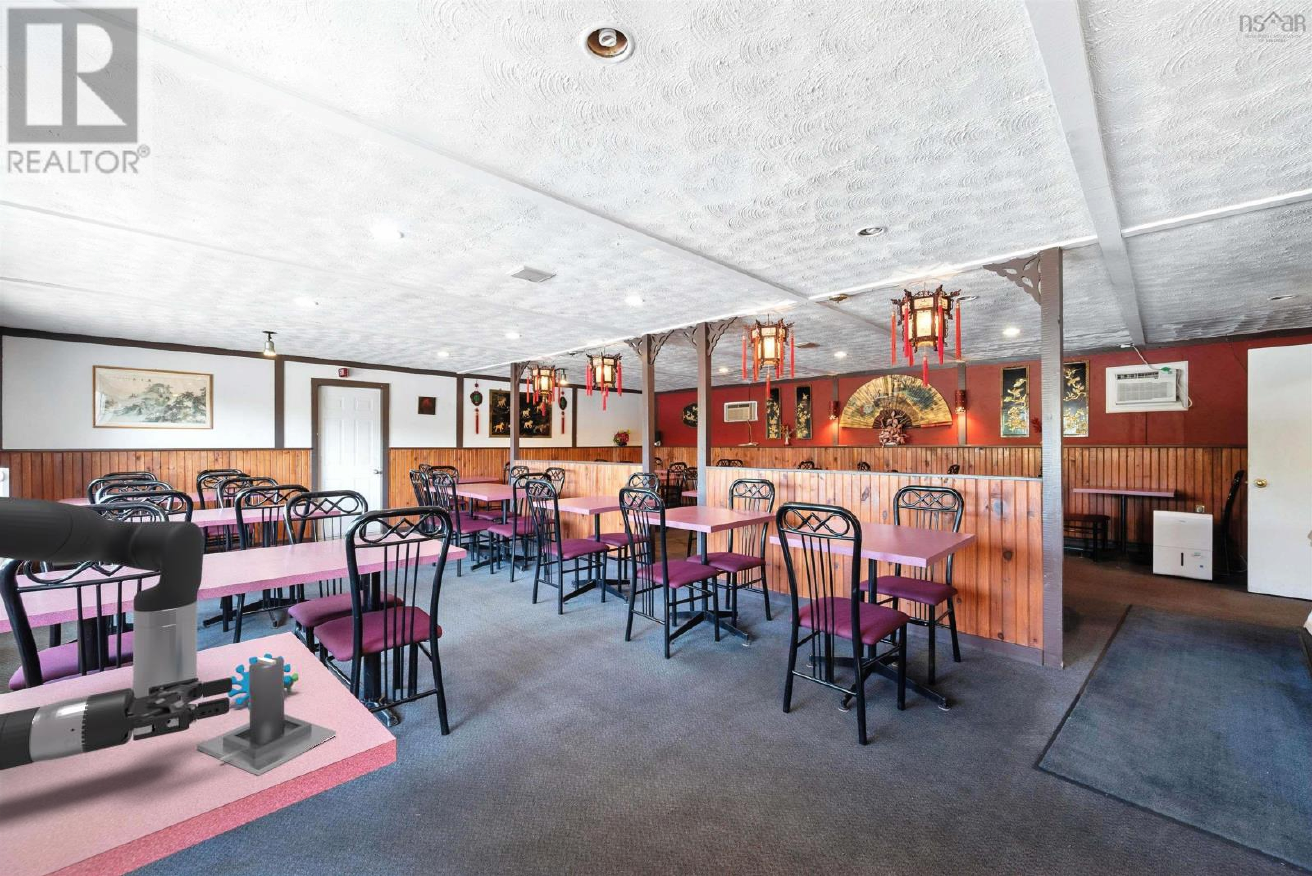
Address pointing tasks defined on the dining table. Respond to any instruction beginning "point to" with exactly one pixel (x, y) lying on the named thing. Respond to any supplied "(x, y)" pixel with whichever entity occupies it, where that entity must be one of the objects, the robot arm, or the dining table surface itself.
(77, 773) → the dining table surface
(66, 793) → the dining table surface
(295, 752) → the grey peg base plate
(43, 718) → the robot arm
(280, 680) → the grey peg
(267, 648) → the dining table surface
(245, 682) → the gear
